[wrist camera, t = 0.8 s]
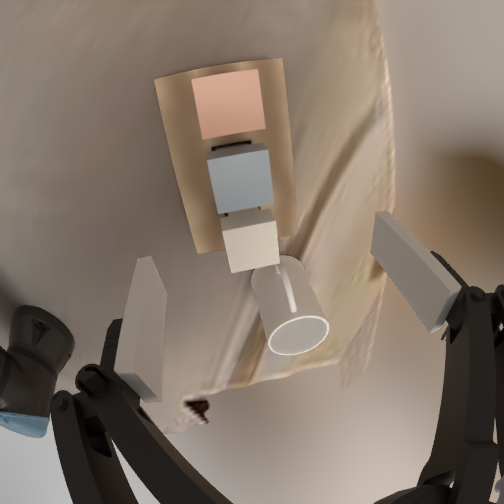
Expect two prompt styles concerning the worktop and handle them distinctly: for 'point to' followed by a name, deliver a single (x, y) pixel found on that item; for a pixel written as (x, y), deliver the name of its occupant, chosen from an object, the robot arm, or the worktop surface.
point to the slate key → (240, 176)
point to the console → (195, 148)
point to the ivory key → (250, 239)
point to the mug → (288, 307)
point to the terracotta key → (229, 103)
